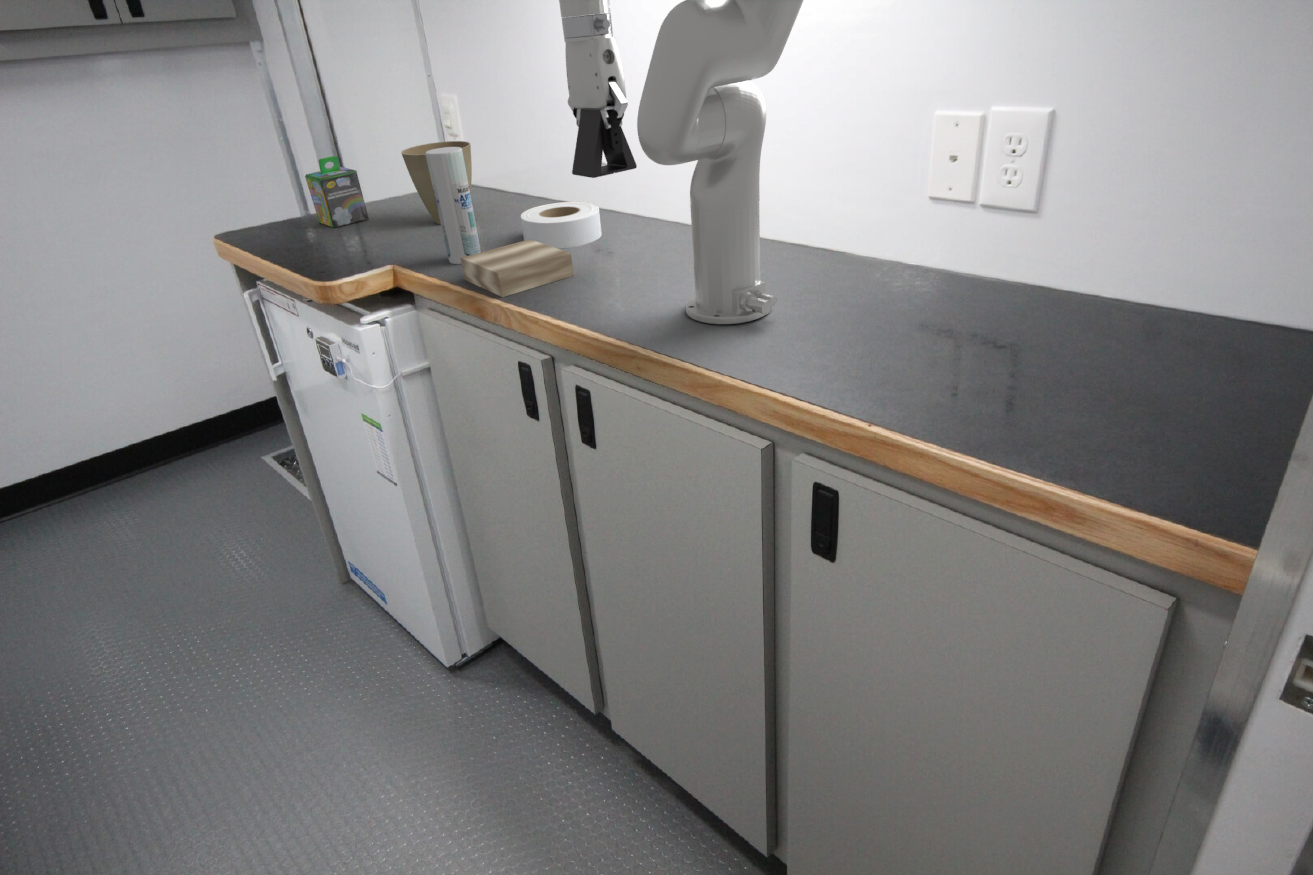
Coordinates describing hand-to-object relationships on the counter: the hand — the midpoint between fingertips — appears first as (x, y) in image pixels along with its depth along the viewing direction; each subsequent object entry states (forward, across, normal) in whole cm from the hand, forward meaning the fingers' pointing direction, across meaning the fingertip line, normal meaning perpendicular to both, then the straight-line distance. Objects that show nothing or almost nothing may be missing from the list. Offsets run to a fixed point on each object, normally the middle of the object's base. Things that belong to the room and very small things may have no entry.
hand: (602, 151), depth 129 cm
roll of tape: (+19, +26, -5) cm, 33 cm away
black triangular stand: (+3, 0, 0) cm, 3 cm away
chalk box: (+18, +84, +20) cm, 88 cm away
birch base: (+19, +10, +14) cm, 26 cm away
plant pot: (+18, +61, +3) cm, 64 cm away
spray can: (+19, +29, +15) cm, 38 cm away
